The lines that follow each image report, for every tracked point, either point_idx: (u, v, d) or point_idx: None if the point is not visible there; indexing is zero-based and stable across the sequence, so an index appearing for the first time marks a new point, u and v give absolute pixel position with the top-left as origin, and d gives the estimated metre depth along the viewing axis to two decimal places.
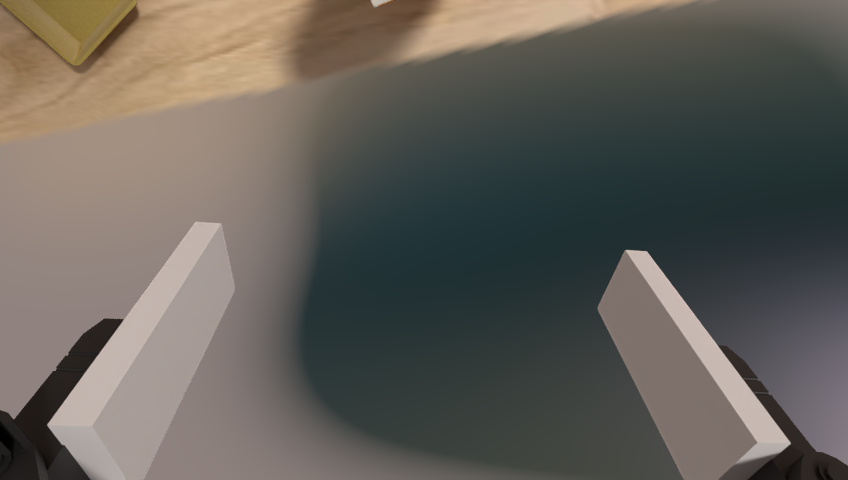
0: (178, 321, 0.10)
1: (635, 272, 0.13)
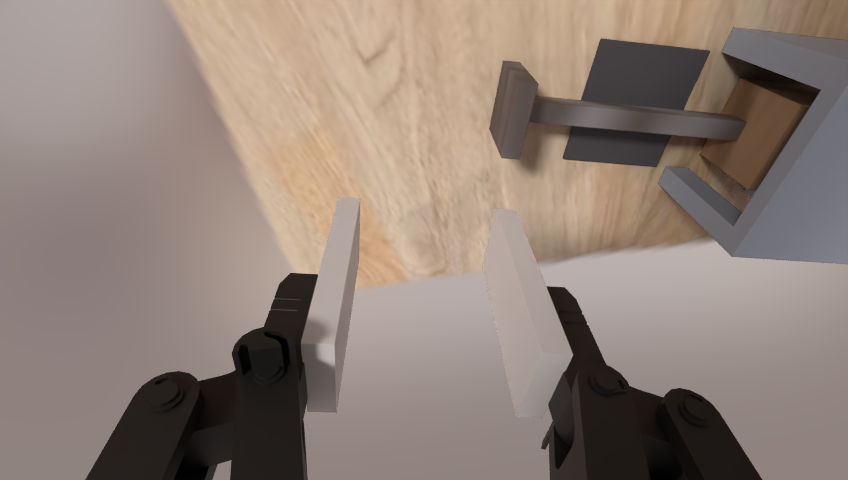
0: (349, 276, 0.13)
1: (499, 227, 0.15)
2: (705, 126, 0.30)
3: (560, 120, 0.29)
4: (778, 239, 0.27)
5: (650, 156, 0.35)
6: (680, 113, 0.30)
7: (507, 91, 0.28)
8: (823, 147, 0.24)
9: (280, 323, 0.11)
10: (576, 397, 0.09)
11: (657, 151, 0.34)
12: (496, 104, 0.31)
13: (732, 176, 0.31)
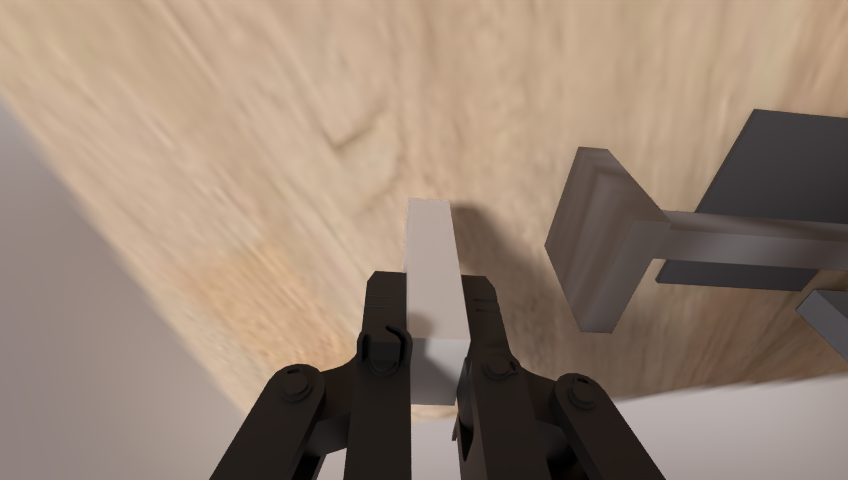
0: None
1: (428, 217, 0.15)
2: None
3: (680, 254, 0.17)
4: None
5: (795, 278, 0.22)
6: None
7: (594, 214, 0.15)
8: None
9: (377, 319, 0.11)
10: (472, 388, 0.09)
11: (808, 272, 0.22)
12: (562, 216, 0.18)
13: None
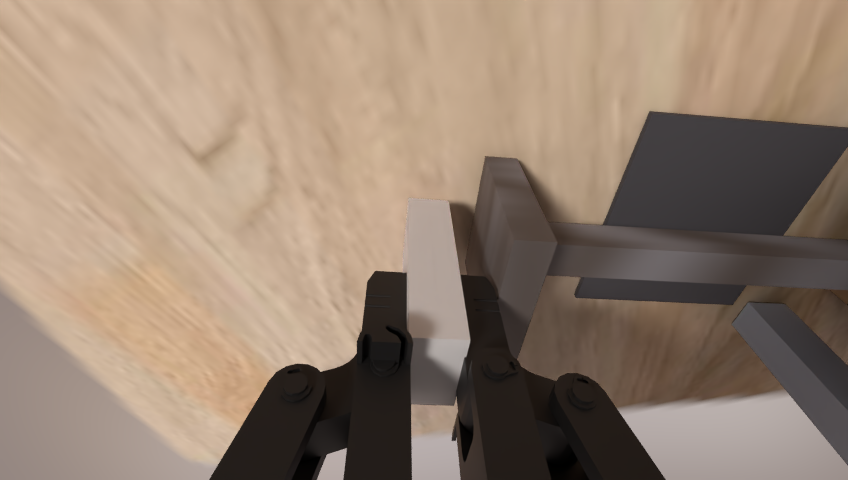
0: None
1: (428, 217, 0.15)
2: None
3: (596, 271, 0.15)
4: None
5: (724, 291, 0.20)
6: (823, 250, 0.16)
7: (492, 231, 0.14)
8: None
9: (377, 319, 0.11)
10: (472, 388, 0.09)
11: (737, 285, 0.20)
12: (475, 230, 0.17)
13: None
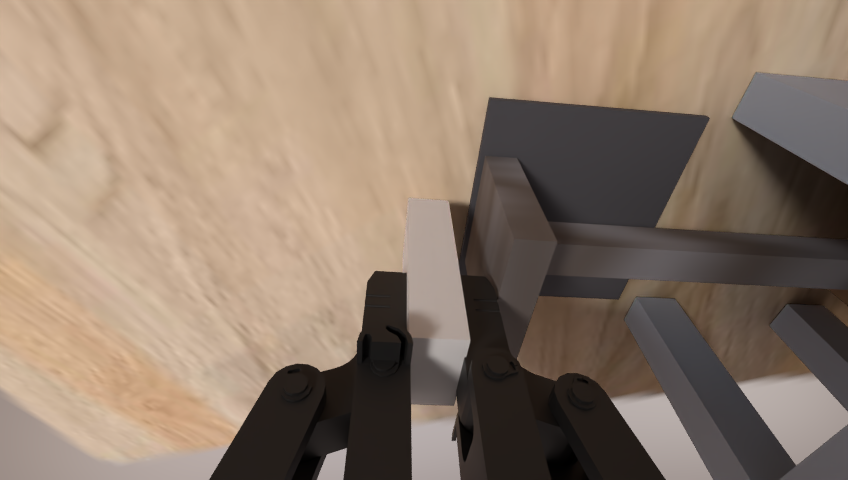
0: None
1: (428, 217, 0.15)
2: None
3: (596, 271, 0.15)
4: None
5: (607, 285, 0.20)
6: (822, 249, 0.16)
7: (492, 230, 0.14)
8: None
9: (377, 319, 0.11)
10: (472, 388, 0.09)
11: (618, 278, 0.20)
12: (475, 230, 0.17)
13: None
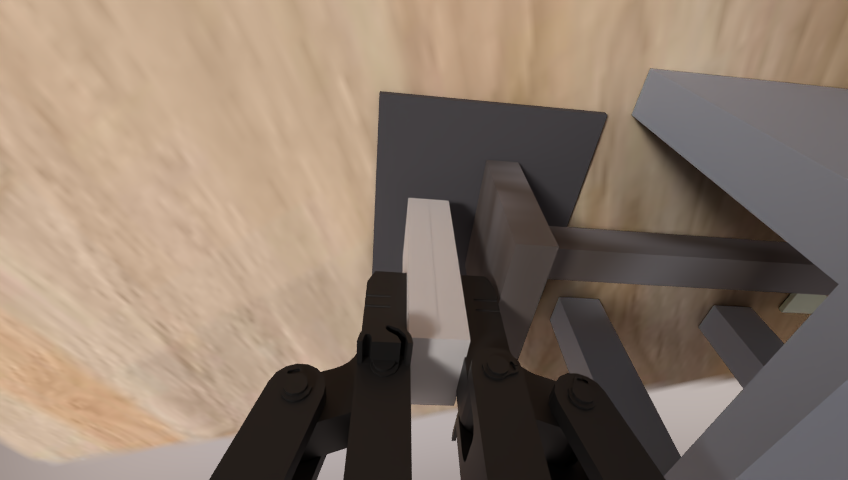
0: None
1: (428, 217, 0.15)
2: None
3: (596, 275, 0.15)
4: None
5: None
6: None
7: (493, 234, 0.14)
8: (844, 426, 0.09)
9: (377, 319, 0.11)
10: (472, 388, 0.09)
11: None
12: (475, 233, 0.17)
13: None
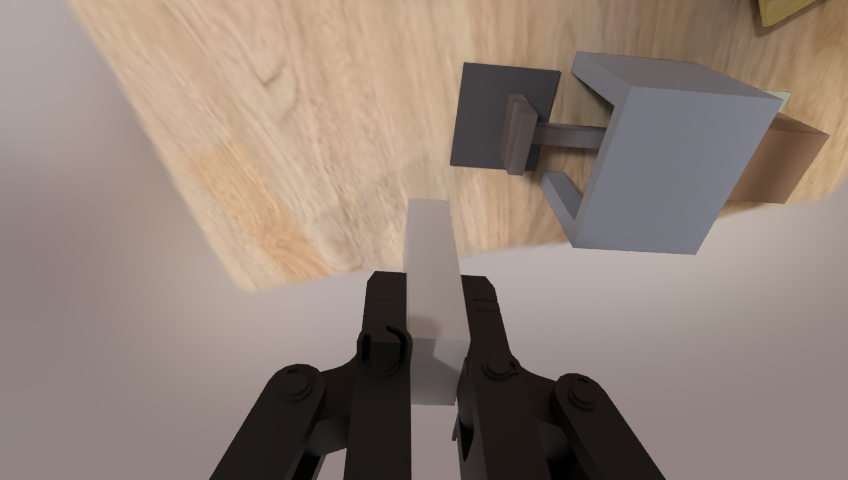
0: None
1: (428, 217, 0.15)
2: None
3: (557, 142, 0.35)
4: (609, 232, 0.32)
5: (527, 162, 0.39)
6: None
7: (512, 119, 0.34)
8: (623, 154, 0.28)
9: (377, 319, 0.11)
10: (472, 388, 0.09)
11: (532, 158, 0.39)
12: (503, 128, 0.36)
13: None
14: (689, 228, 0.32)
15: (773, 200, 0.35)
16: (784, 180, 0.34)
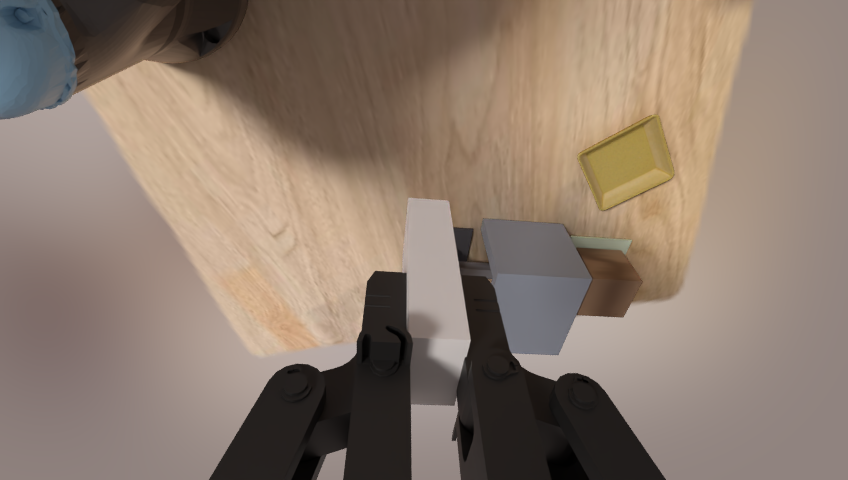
0: None
1: (429, 217, 0.15)
2: None
3: None
4: None
5: None
6: None
7: None
8: (499, 304, 0.45)
9: (377, 319, 0.11)
10: (472, 388, 0.09)
11: None
12: None
13: None
14: (550, 341, 0.49)
15: (615, 315, 0.53)
16: (619, 305, 0.52)
